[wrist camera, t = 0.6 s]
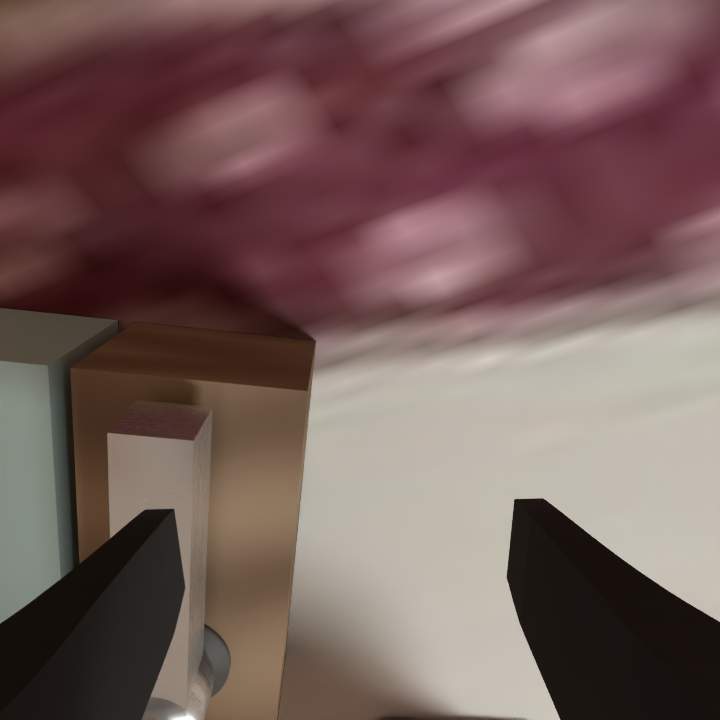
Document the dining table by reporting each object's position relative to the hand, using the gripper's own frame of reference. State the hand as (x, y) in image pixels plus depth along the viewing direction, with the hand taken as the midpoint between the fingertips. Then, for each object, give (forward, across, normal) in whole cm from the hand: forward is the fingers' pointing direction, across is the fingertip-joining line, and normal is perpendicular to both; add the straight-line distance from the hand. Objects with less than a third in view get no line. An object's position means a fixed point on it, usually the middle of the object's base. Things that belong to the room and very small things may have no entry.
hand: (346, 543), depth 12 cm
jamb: (+10, +5, +6) cm, 12 cm away
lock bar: (+4, +5, +4) cm, 8 cm away
